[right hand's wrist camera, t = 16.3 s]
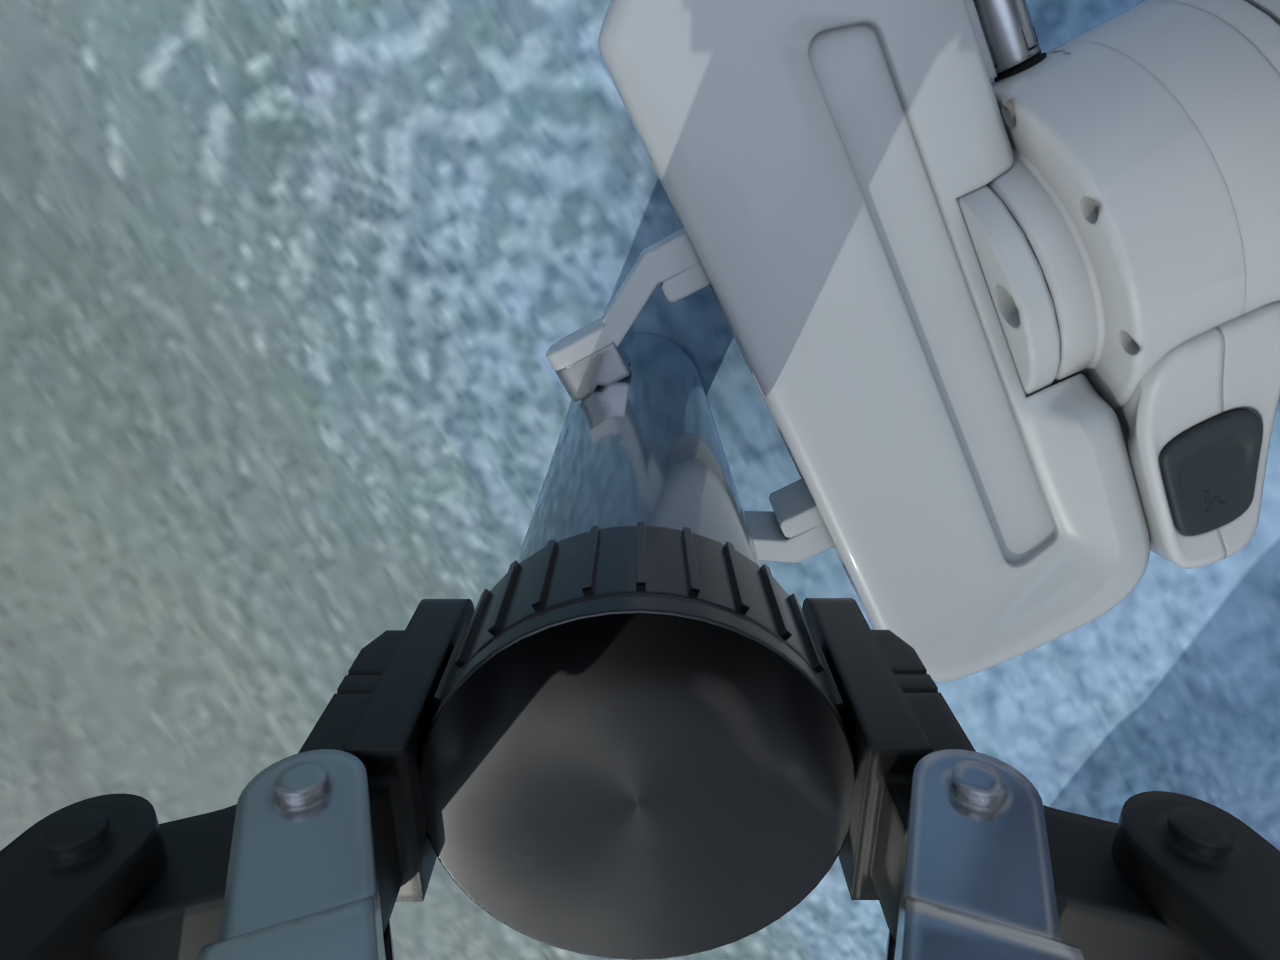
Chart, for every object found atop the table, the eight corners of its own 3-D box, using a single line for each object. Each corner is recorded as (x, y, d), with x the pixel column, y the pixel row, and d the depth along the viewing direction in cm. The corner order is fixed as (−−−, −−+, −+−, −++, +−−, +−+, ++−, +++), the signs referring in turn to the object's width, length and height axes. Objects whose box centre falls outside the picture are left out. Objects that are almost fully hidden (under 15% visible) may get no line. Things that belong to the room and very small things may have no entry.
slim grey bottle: (686, 464, 29) (765, 925, 11) (568, 441, 28) (438, 876, 10) (715, 346, 27) (862, 649, 9) (589, 320, 27) (482, 581, 9)
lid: (895, 631, 11) (959, 740, 9) (694, 874, 13) (705, 1018, 10) (567, 447, 10) (546, 518, 8) (394, 736, 12) (338, 862, 9)
